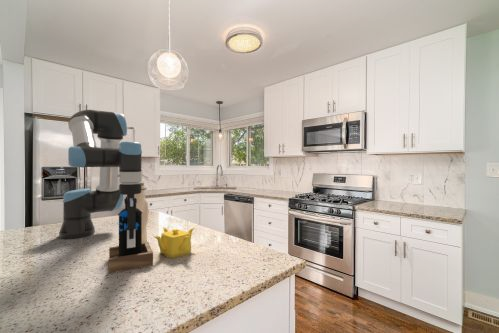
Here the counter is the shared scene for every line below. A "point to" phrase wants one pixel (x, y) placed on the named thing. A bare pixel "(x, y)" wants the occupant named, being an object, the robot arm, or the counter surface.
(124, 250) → the aerosol can
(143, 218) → the water bottle
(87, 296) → the counter surface
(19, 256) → the counter surface
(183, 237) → the teapot
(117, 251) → the u rest
